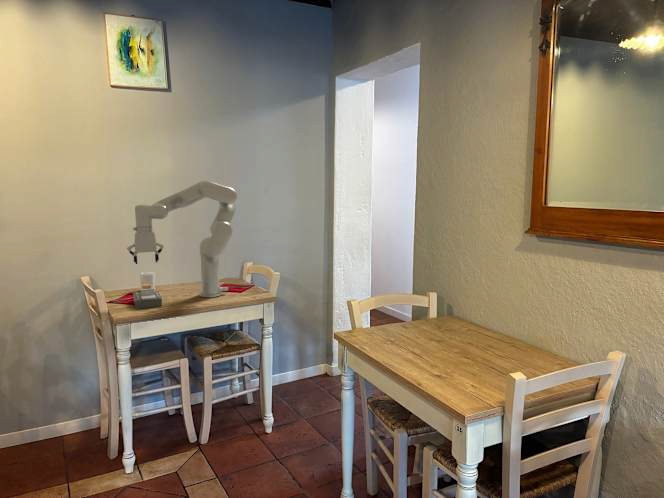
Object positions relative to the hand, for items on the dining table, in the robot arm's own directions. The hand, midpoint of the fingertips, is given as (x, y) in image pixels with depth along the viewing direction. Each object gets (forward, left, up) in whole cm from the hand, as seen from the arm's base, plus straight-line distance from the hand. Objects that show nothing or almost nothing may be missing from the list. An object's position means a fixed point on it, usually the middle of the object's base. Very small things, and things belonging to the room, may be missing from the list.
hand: (146, 262), depth 245 cm
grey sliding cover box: (+1, +4, -20) cm, 21 cm away
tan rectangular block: (+1, +1, -20) cm, 20 cm away
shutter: (+1, +10, -16) cm, 19 cm away
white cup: (-2, -24, -21) cm, 32 cm away
